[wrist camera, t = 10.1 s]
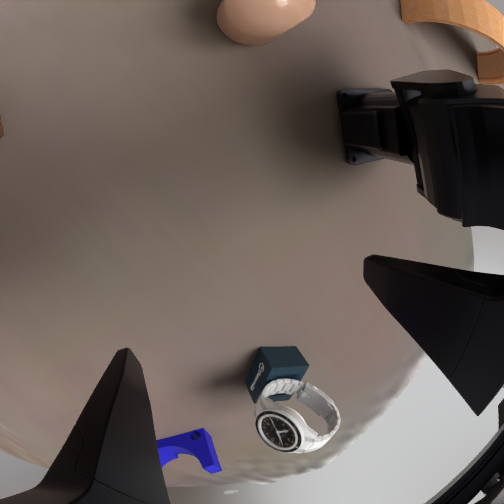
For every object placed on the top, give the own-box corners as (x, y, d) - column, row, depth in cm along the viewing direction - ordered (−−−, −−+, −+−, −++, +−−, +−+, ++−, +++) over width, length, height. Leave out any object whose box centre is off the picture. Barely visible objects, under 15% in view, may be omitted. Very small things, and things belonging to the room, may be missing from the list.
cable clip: (141, 456, 30) (147, 489, 25) (125, 445, 28) (129, 481, 23) (214, 439, 32) (225, 473, 27) (202, 427, 30) (214, 464, 25)
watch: (242, 346, 26) (288, 439, 16) (309, 345, 29) (363, 418, 20) (228, 383, 28) (263, 469, 18) (290, 380, 31) (334, 450, 21)
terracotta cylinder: (273, -7, 14) (304, -34, 10) (288, 44, 16) (323, 25, 12) (210, -4, 13) (228, -37, 9) (223, 49, 15) (245, 25, 11)
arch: (397, -16, 15) (465, -32, 6) (478, 54, 22) (529, 58, 13) (400, 20, 17) (477, 9, 9) (480, 85, 24) (533, 93, 15)
